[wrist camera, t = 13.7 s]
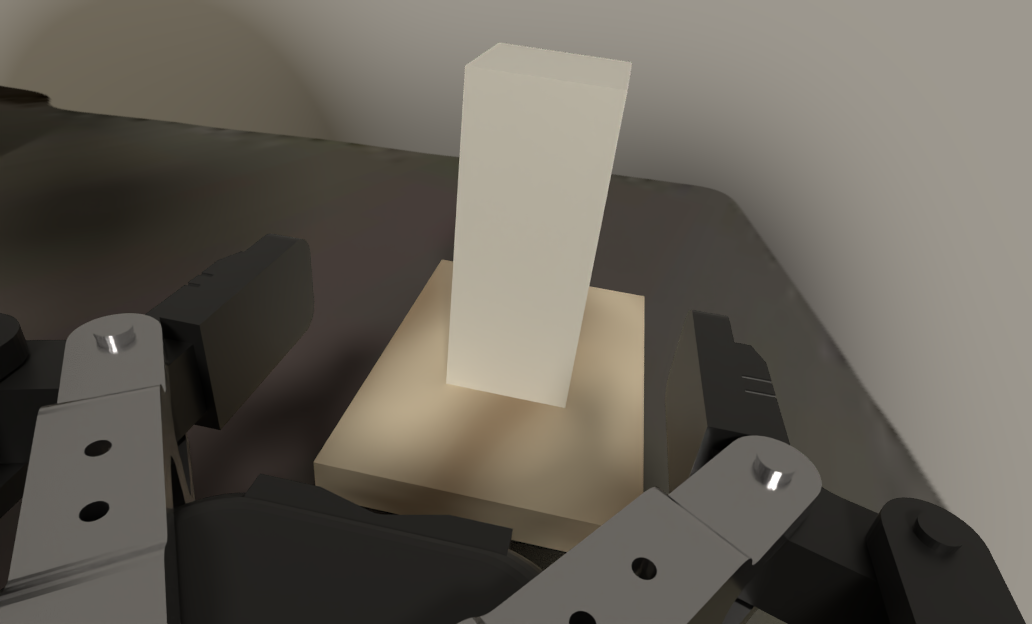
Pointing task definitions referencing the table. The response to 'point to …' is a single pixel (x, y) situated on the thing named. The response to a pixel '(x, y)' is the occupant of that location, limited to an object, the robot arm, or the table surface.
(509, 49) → the block
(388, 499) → the pin dock
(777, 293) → the table surface
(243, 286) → the robot arm
